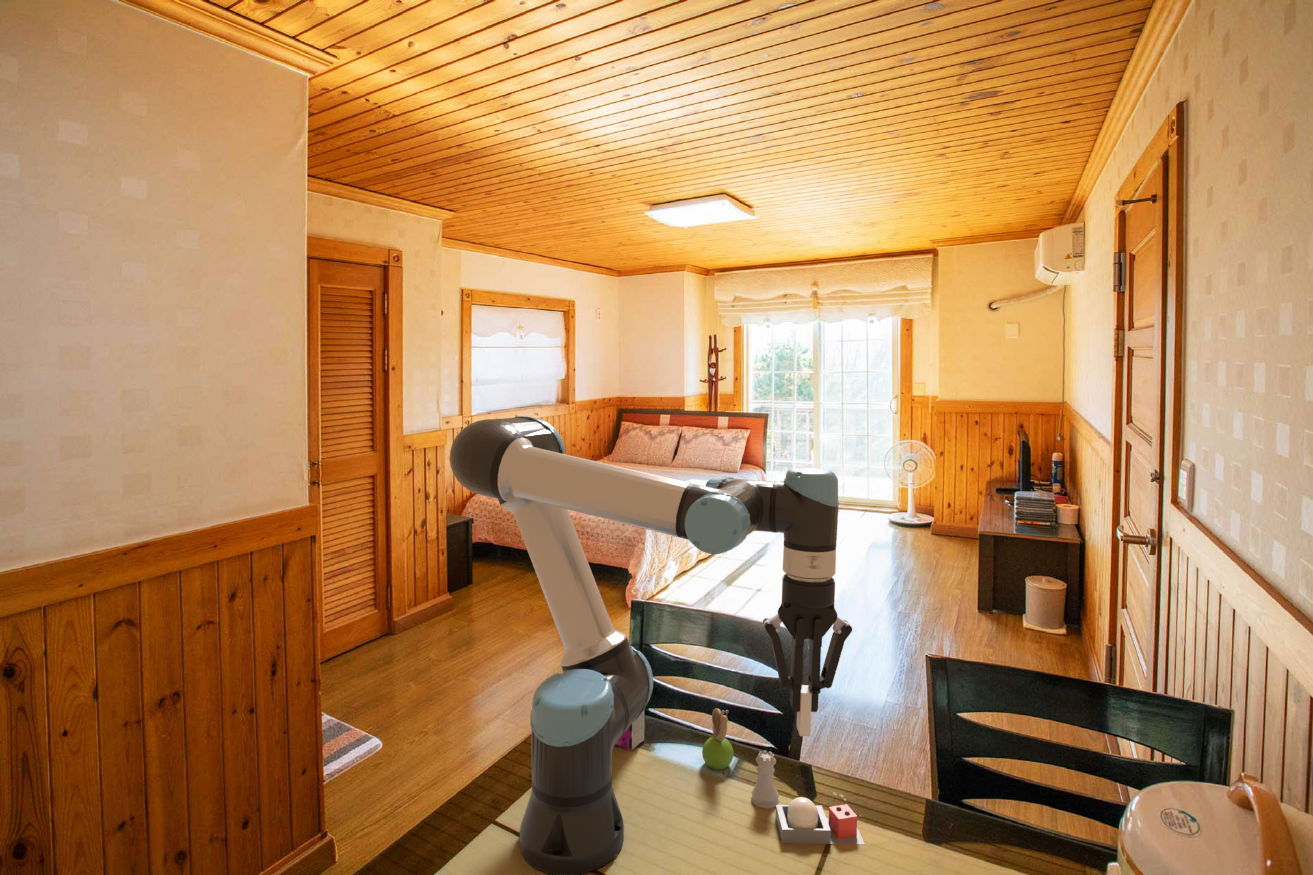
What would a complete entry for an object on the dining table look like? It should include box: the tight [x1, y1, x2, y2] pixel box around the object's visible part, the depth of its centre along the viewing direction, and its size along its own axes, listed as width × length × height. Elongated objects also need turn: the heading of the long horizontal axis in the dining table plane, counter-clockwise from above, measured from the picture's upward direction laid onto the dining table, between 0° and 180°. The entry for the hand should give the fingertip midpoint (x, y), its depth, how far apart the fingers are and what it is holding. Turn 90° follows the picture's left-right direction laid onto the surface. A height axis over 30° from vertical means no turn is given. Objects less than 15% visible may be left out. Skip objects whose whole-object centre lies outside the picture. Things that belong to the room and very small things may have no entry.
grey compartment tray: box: [775, 803, 866, 846], centre depth 103 cm, size 12×6×4 cm, turn 89°
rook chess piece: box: [750, 750, 780, 809], centre depth 110 cm, size 4×4×8 cm
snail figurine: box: [701, 707, 734, 771], centre depth 120 cm, size 5×6×12 cm
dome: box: [787, 796, 818, 829], centre depth 103 cm, size 4×4×4 cm
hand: (803, 731), depth 102 cm, fingers closed
